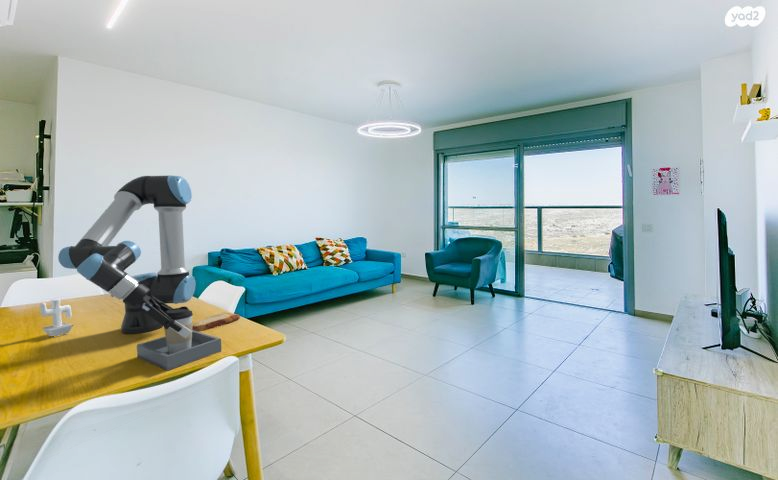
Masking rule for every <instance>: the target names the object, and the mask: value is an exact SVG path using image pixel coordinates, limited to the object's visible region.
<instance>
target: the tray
mask: <svg viewBox="0 0 778 480" xmlns="http://www.w3.org/2000/svg"><path fill="white" fill-rule="evenodd" d="M222 350H223V349H222V338H221V337H220V338H219V337H216V336H214V335H210V334H207V333H204V332H202V331H199V332H197V331H194V330H192V341H191V348H188V349H185V350H182V351H179V352H176V353H173V354H169V353H168V346H167V342H166V337H165V336H162V337H158V338H155V339H151V340H148V341H144V342H141V343H137V344H136V352H137V358H138V359H140V360H143V361H145V362H147V363H149V364H151V365H154V366H156V367H159V368H160V369H163V370H165V371H166V372H167V371H171V370H174V369H176V368H180V367H182V366H184V365H188V364H190V363H193V362H195V361H199V360H201V359H204V358H207V357H209V356H212V355H214V354H217V353H219V352H222Z"/></svg>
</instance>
